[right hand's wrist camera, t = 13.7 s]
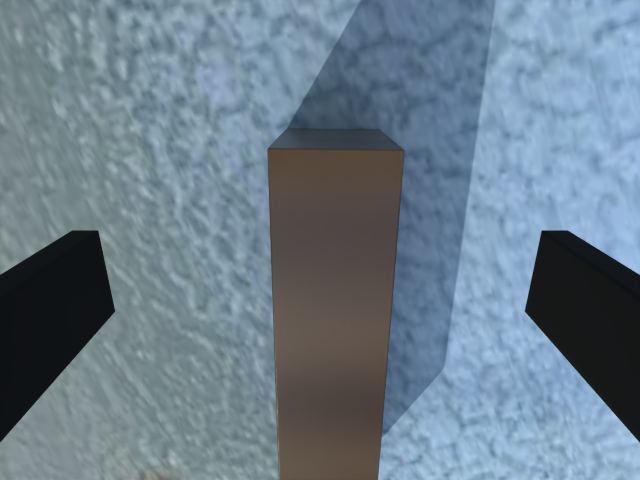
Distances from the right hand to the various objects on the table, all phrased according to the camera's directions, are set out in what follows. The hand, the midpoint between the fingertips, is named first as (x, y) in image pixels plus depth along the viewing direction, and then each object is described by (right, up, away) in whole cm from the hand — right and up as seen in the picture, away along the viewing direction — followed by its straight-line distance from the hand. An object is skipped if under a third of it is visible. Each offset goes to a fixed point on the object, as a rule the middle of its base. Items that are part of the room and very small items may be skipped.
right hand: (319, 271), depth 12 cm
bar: (+1, -5, +16) cm, 17 cm away
